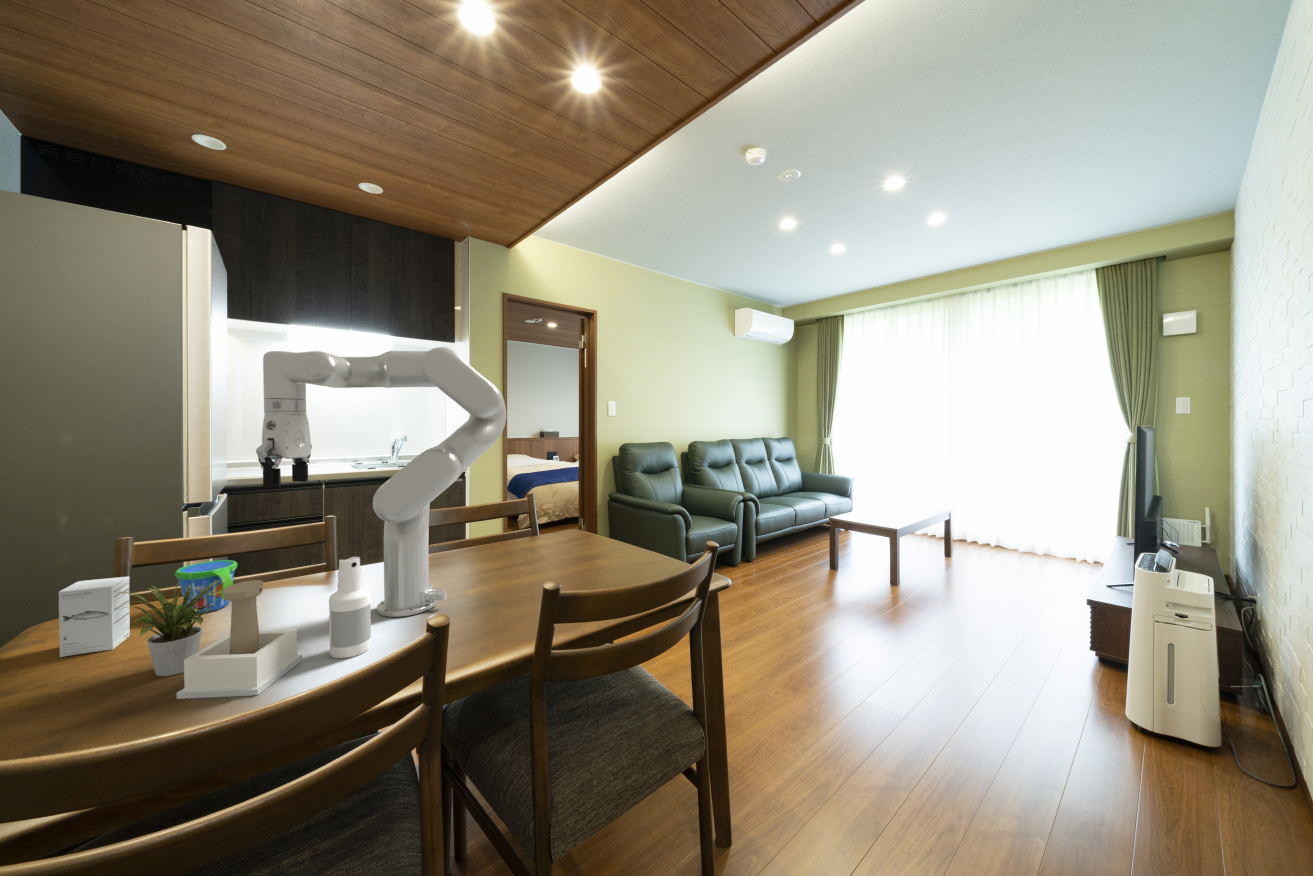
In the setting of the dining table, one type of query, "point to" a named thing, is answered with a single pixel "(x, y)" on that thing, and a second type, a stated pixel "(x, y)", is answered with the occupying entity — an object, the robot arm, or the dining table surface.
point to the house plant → (172, 630)
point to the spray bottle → (349, 612)
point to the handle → (244, 616)
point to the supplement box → (93, 615)
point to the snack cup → (207, 582)
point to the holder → (239, 667)
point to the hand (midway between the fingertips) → (286, 484)
